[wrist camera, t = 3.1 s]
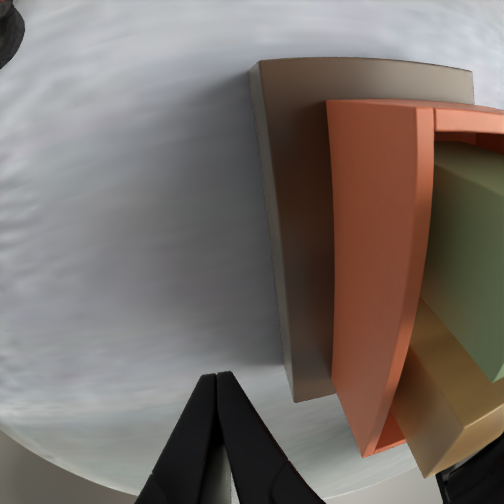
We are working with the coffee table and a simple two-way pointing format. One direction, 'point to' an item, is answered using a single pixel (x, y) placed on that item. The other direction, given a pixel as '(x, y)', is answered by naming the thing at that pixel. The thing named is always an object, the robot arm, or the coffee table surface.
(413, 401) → the beech block
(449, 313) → the sage block
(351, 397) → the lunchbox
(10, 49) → the figurine
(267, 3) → the coffee table surface
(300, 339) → the stand
